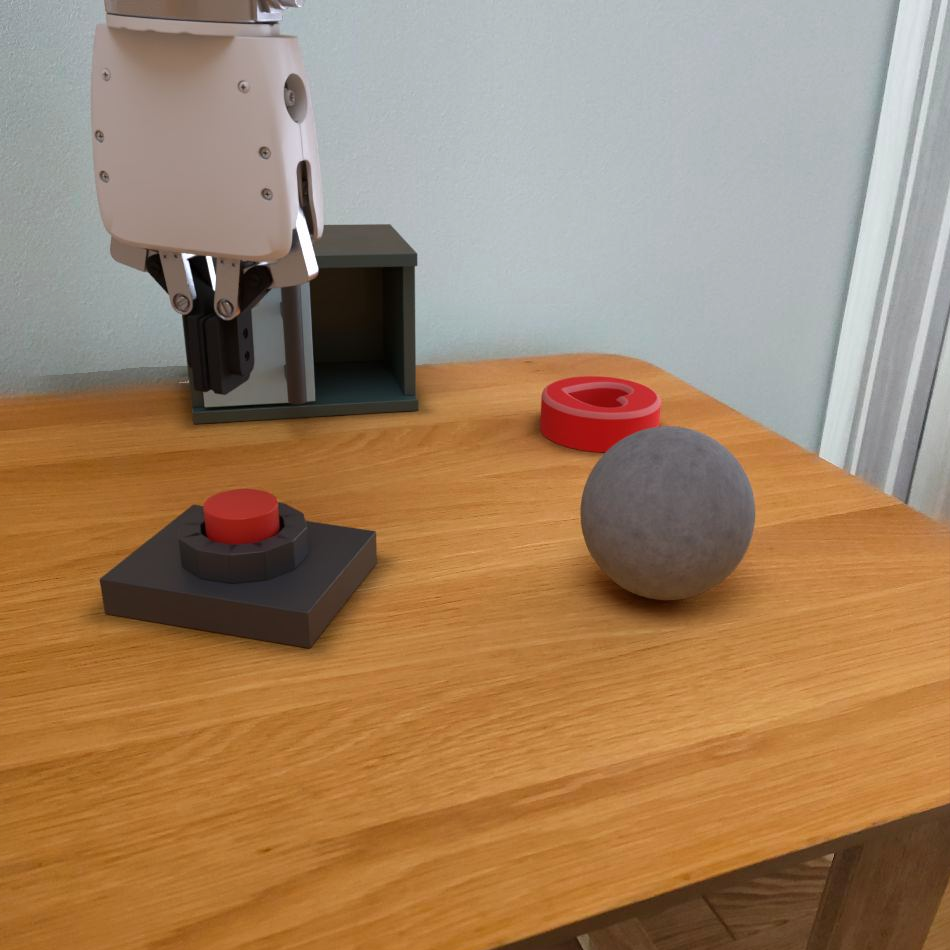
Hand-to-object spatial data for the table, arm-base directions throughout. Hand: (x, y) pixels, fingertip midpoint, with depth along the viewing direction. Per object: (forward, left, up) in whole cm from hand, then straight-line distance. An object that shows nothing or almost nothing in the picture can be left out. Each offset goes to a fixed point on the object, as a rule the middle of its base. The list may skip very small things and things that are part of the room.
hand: (223, 384), depth 56 cm
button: (0, 0, -8) cm, 9 cm away
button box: (0, 0, -12) cm, 12 cm away
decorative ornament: (+15, +32, -12) cm, 38 cm away
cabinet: (-11, +32, -12) cm, 36 cm away
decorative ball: (+23, +7, -12) cm, 27 cm away
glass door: (-10, +23, -11) cm, 27 cm away
